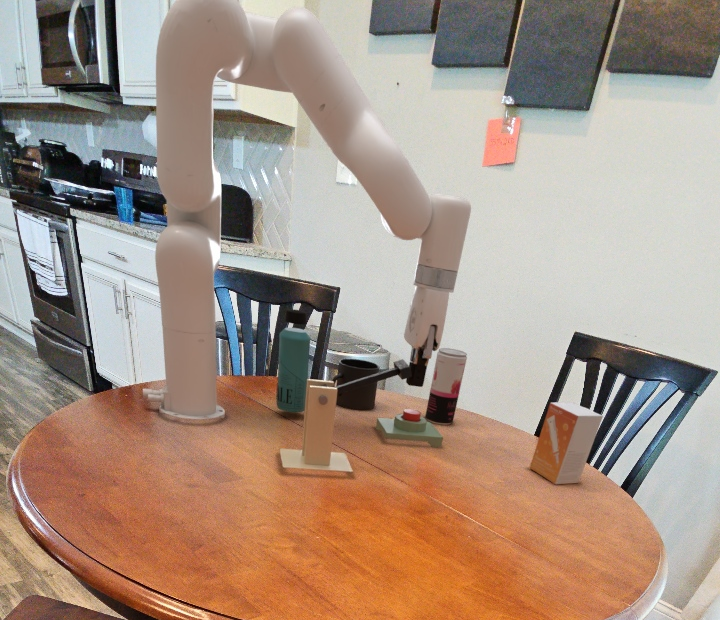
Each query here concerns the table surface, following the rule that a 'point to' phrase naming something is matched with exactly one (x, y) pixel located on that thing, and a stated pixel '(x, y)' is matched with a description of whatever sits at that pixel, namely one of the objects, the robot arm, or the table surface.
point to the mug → (360, 396)
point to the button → (411, 415)
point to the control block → (409, 430)
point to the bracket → (317, 432)
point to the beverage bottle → (293, 364)
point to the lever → (377, 377)
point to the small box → (565, 442)
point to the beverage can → (445, 386)
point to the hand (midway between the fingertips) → (414, 384)
